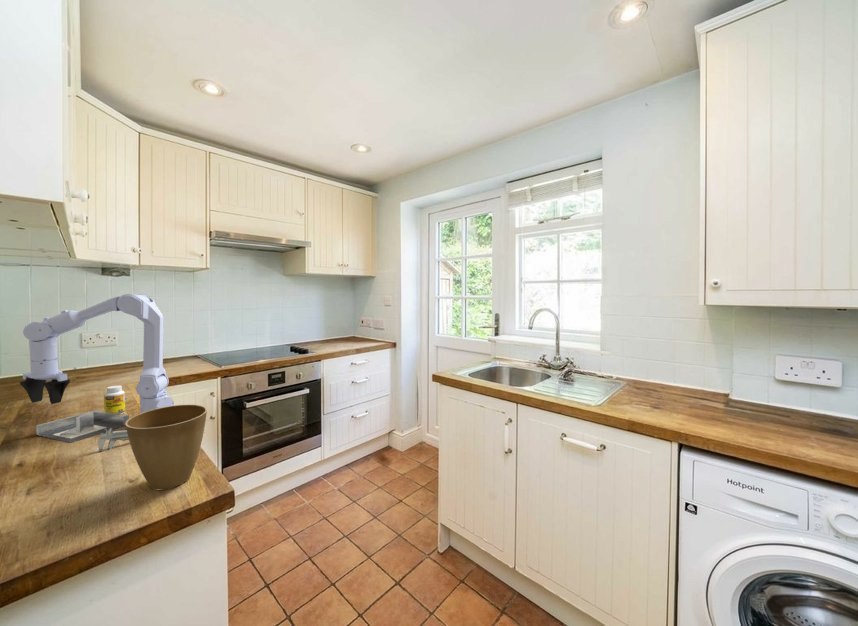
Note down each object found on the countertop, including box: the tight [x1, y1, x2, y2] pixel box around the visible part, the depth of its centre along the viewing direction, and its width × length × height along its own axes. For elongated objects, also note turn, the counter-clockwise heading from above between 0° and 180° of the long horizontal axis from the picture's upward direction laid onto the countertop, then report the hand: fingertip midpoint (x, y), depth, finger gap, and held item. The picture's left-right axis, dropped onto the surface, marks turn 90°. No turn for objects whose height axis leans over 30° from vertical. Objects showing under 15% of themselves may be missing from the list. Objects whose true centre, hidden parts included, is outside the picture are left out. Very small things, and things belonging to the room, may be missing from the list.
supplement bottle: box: [103, 385, 126, 414], centre depth 123 cm, size 6×6×10 cm
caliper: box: [97, 428, 129, 452], centre depth 102 cm, size 20×1×6 cm, turn 143°
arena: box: [35, 409, 130, 444], centre depth 109 cm, size 16×15×3 cm
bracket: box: [60, 411, 94, 436], centre depth 106 cm, size 6×5×6 cm
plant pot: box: [124, 404, 208, 490], centre depth 78 cm, size 15×15×16 cm
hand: (46, 402), depth 107 cm, fingers open, 7 cm apart
